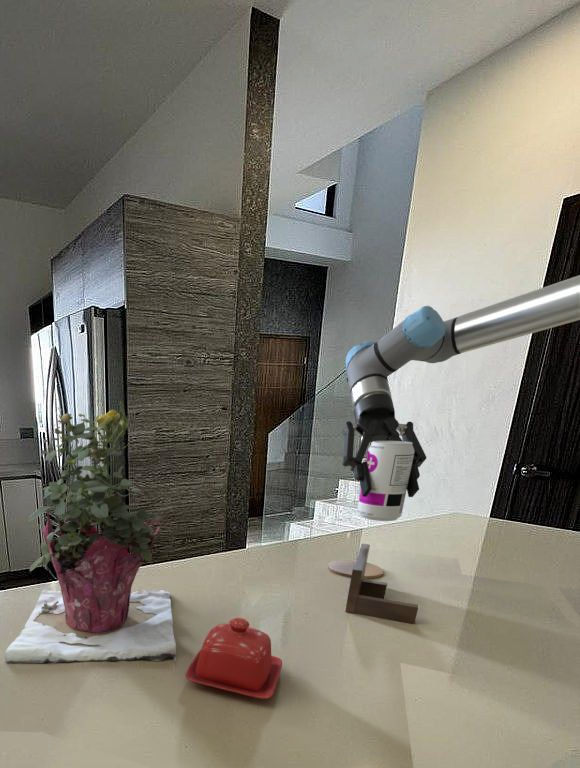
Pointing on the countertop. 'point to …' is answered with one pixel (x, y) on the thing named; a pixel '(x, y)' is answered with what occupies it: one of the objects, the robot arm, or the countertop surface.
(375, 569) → the cork coaster
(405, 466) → the supplement can
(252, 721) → the countertop surface
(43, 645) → the potted flower
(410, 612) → the dark wooden l-bracket
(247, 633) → the butter dish
